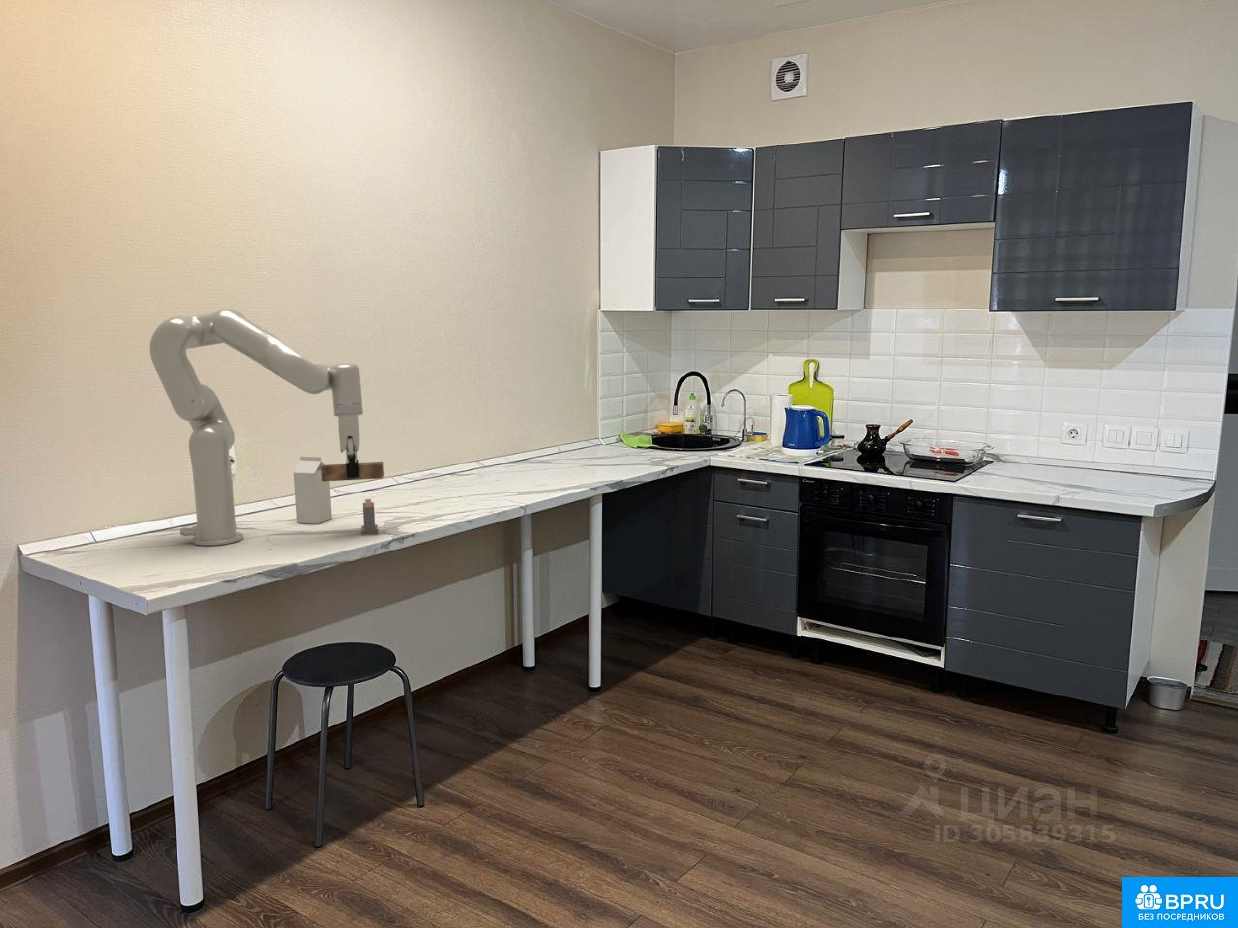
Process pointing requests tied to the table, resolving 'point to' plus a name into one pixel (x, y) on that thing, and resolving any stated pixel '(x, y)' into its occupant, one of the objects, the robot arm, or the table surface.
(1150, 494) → the table surface
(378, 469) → the walnut rod
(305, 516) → the milk carton
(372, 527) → the ridge stand
